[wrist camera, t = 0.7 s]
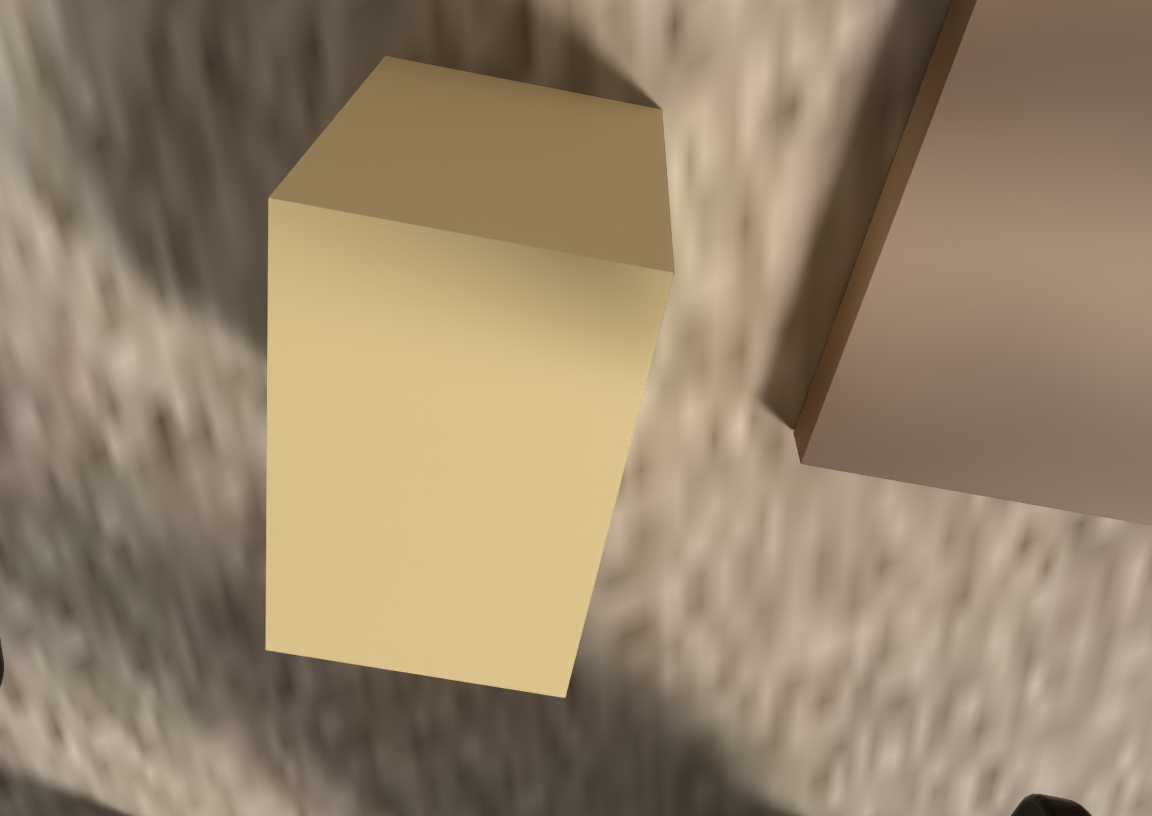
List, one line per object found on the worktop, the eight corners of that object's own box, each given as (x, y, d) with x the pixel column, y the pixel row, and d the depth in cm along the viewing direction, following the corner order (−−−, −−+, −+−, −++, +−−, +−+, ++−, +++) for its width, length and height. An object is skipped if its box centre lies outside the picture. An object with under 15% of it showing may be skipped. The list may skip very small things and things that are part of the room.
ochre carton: (661, 107, 16) (674, 273, 11) (583, 457, 20) (565, 698, 15) (373, 52, 16) (250, 194, 11) (350, 416, 19) (251, 647, 14)
